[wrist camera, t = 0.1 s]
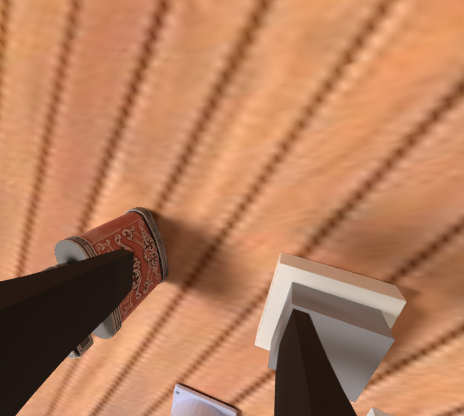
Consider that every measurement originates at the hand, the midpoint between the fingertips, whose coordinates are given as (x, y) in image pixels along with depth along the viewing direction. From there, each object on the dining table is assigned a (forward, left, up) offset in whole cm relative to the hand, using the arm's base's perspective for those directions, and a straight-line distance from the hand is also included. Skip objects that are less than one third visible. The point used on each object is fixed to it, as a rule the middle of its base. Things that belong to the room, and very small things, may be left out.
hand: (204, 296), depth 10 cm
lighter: (-6, +9, -10) cm, 15 cm away
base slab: (-7, -8, -11) cm, 15 cm away
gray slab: (-7, -8, -8) cm, 13 cm away
